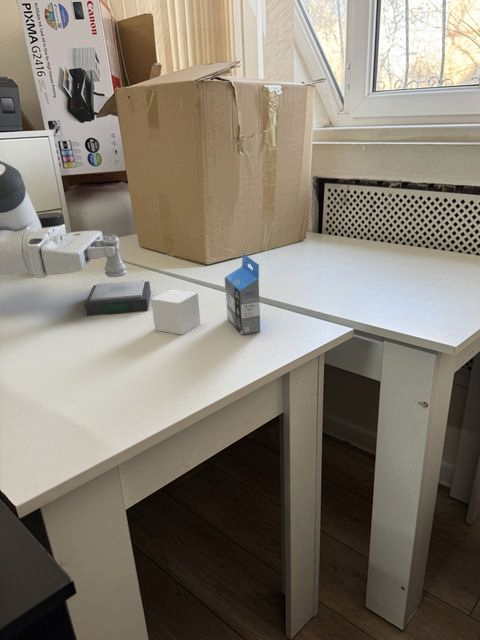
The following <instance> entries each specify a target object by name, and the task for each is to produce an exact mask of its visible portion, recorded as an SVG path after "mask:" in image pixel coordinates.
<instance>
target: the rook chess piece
mask: <svg viewBox="0 0 480 640" xmlns="http://www.w3.org/2000/svg"><path fill="white" fill-rule="evenodd" d="M118 242H119V243H120V239H119V237H118V235H117V234H113V233H112V234H111V236H110V234H106V235H103V243H104V244H105V245H106V246H114V247H115V254H114V255H113V256H106V262H105V266H104V268H103V269H104V270H103V271H105V272H104V275H105V276H106V277H108V278H120V277H124V276H126V274H127V272H128V270H126V269H127V266H126V264H124V261H123V260H122V258H121V255H120V251H119V249H120V246H119V247H118Z"/></svg>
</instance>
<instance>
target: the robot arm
mask: <svg viewBox="0 0 480 640" xmlns="http://www.w3.org/2000/svg"><path fill="white" fill-rule="evenodd" d="M37 214H38V213H37V212H36V209H35V207H34V205H33V202H32V200H31V198H30V196H29V194H28V191H27V189H26V186H25V183H24V180H23V177H22V175H21V172H20V171H19V169H17V168H15V167H14V166H12V165H10V164H8V163H6V162H4V161H3V159H2V157H1V156H0V276H12V275H16V274H20V273H26V274H31V275H33V277H34V278H35V279H44V278H47V277H48V276H55V275H63V274H73V273H78V272H80V271H83V270H84V269H85V267H86V266H87V265H88V264H89V263H90V262H91V261H92V260H97V259H101V258H105V257H107V256H113V255H114V254H115V247H114V246H106V245H105V244H104V243H103V240H104V235H103V232H102V231H101V230H81V231H71V232H68V233H67V232H66V234H65V235H64V236H63V235H62V234H57V232H56V231H55V230H54V229H53V228H42V227H41V223H40V221H39V218H38V216H37ZM118 247H119V248H120V241H119V242H118Z"/></svg>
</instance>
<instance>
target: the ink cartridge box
mask: <svg viewBox="0 0 480 640" xmlns="http://www.w3.org/2000/svg"><path fill="white" fill-rule="evenodd" d="M241 257H242V259H241V260H242V262H241V266H240V267H239V268H237V269H236V270H233V271H232V272H231V273H228V275H226V276H225V277H224V287H225V301H226V302H225V303H226V318H227V320H228V321H229V322H230V323H231V324H232V325H233V326H234V328H235V329H236V330H237V331H238V332H239V333H240V334H241V335H242V336H245V335H250V334H256V333H260V332H261V313H260V311H261V310H260V309H261V308H260V264H259V263H257V262H256V261H255V260H253V259H251V258H250V257H249V256H248V255H246V254H245V253H243V252H242V256H241ZM248 265H250V267H251V268H250V267H249V266H248Z"/></svg>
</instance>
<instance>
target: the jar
mask: <svg viewBox="0 0 480 640" xmlns="http://www.w3.org/2000/svg"><path fill="white" fill-rule="evenodd" d="M36 214H37V216H38V218H39V221H40V223H41V227H42V228H53V229H54V230H55V231H56V232H57V234H62V235H63V236H64V235H65V234H67V229H66V225H65V218H64V214H63V213H62V212H43V213H36Z"/></svg>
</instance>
